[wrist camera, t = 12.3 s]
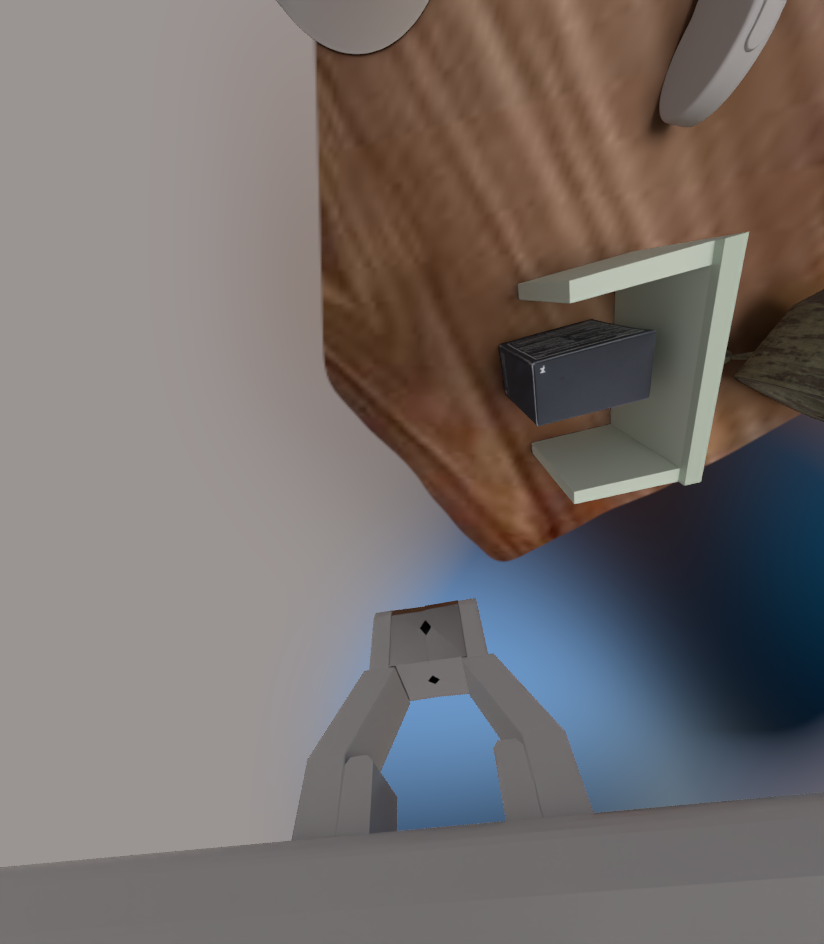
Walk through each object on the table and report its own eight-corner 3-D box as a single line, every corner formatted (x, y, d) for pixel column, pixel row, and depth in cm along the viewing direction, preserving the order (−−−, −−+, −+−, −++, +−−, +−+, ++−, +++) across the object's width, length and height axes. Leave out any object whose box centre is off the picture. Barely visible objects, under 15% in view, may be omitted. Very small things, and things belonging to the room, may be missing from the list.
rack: (517, 283, 35) (574, 280, 23) (631, 251, 34) (748, 231, 22) (532, 453, 44) (578, 508, 33) (621, 431, 43) (700, 481, 32)
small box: (504, 399, 40) (535, 430, 31) (497, 343, 37) (529, 361, 28) (593, 375, 39) (652, 401, 30) (593, 317, 36) (659, 325, 27)
